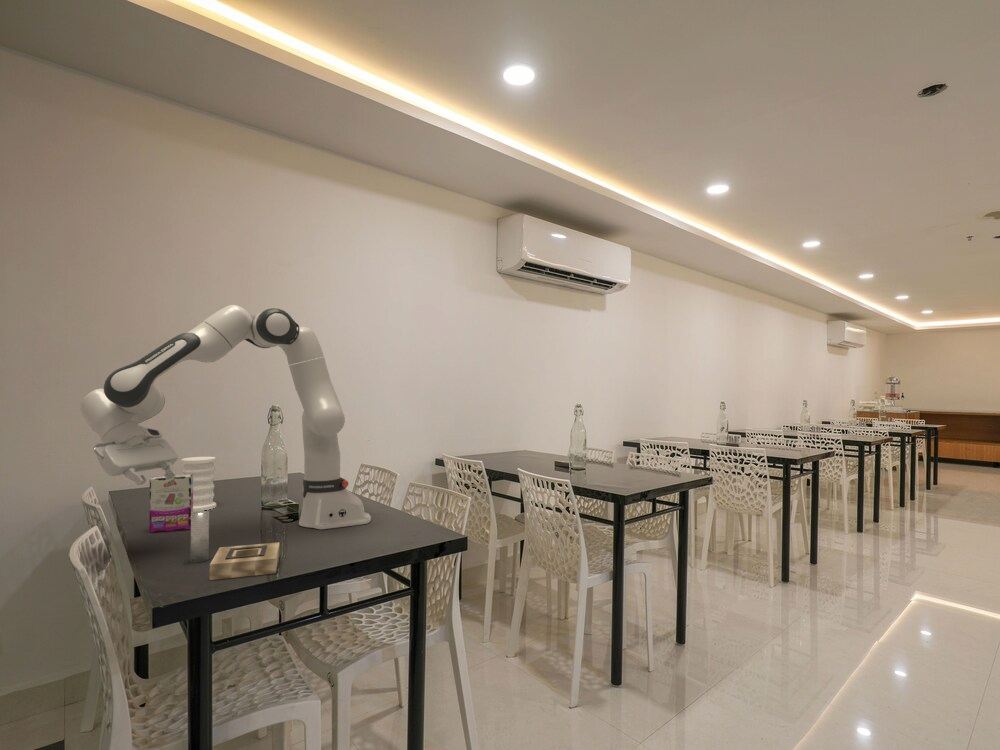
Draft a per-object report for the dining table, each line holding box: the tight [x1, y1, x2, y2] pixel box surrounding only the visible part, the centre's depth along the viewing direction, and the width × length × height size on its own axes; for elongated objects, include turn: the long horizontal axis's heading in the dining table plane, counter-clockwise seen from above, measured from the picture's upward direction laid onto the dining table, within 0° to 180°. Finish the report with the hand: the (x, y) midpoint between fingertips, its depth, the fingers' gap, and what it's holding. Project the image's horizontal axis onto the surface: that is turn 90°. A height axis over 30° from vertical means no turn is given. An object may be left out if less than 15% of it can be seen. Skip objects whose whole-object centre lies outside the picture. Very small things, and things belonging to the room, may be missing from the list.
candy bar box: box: [148, 474, 193, 534], centre depth 169 cm, size 11×5×16 cm, turn 112°
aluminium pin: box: [190, 510, 210, 563], centre depth 139 cm, size 4×4×12 cm
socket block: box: [209, 542, 281, 581], centre depth 134 cm, size 14×14×4 cm
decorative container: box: [181, 456, 217, 512], centre depth 198 cm, size 12×12×18 cm
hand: (157, 480), depth 142 cm, fingers open, 8 cm apart
